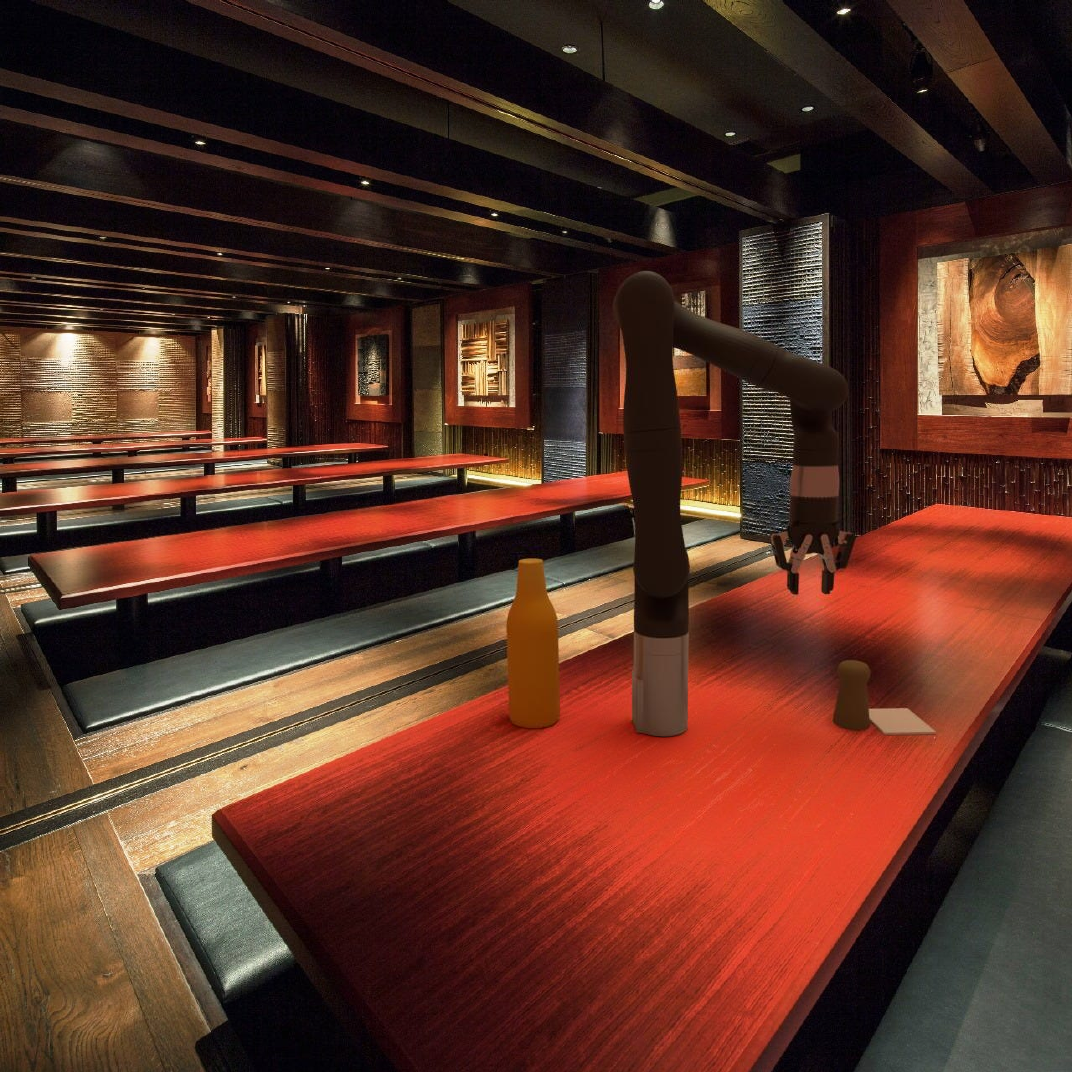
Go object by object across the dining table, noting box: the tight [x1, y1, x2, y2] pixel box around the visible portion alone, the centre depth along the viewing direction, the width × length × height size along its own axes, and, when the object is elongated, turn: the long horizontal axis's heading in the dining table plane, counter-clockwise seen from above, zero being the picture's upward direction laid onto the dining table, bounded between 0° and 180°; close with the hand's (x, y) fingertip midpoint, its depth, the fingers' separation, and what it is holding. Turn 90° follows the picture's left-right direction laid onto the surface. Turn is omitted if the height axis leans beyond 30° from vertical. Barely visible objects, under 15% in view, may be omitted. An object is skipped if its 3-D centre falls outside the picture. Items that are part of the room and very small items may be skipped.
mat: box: [869, 707, 937, 736], centre depth 129 cm, size 8×10×1 cm
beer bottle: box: [505, 558, 561, 729], centre depth 132 cm, size 9×9×29 cm
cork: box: [832, 659, 871, 731], centre depth 129 cm, size 6×6×11 cm
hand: (810, 592), depth 126 cm, fingers open, 4 cm apart
